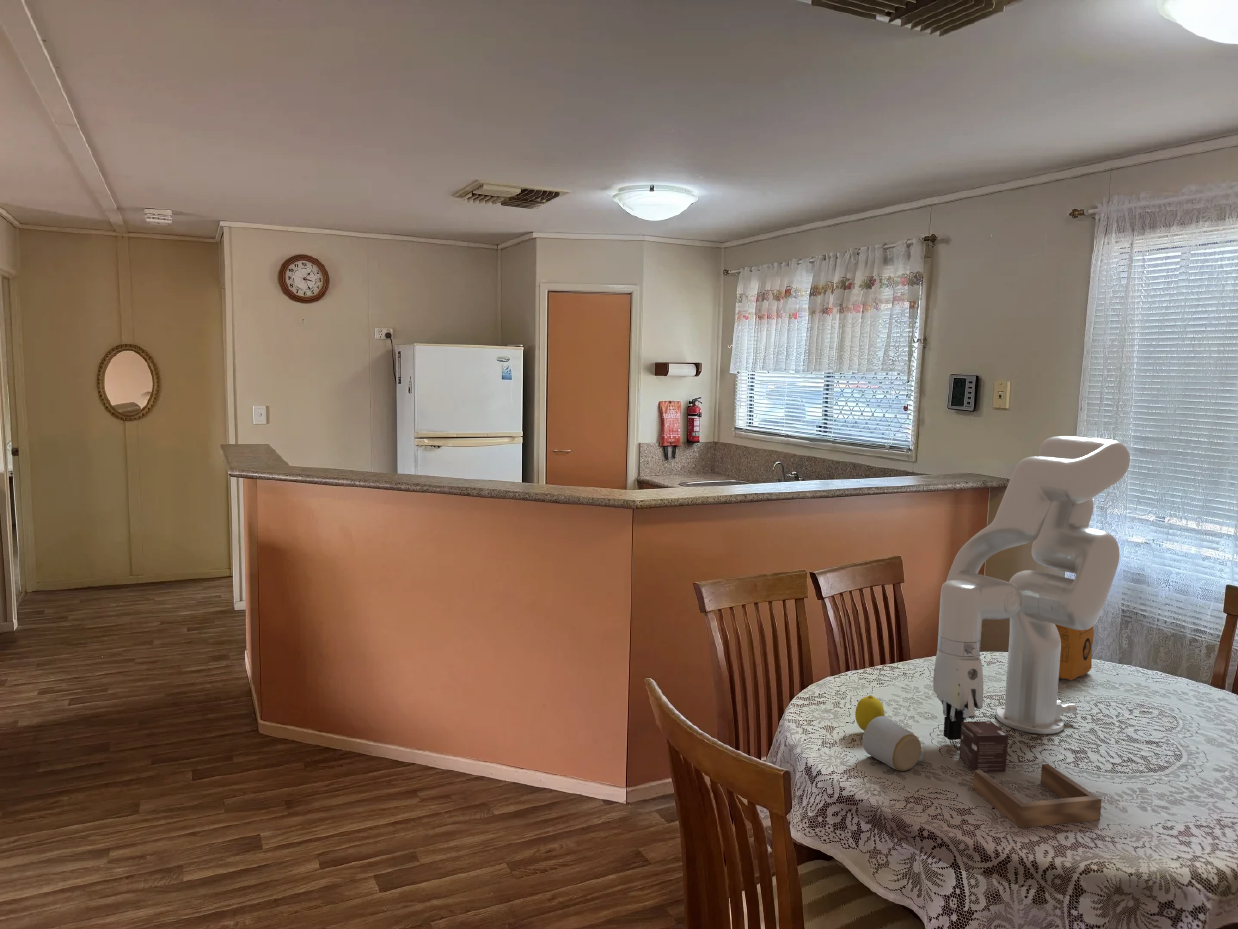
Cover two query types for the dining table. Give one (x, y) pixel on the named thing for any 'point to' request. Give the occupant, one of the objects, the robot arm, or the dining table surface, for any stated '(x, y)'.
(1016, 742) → the dining table surface
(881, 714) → the lemon
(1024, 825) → the bay
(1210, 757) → the dining table surface
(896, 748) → the ceramic mug
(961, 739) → the box
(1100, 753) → the dining table surface
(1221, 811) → the dining table surface
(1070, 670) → the coffee package
